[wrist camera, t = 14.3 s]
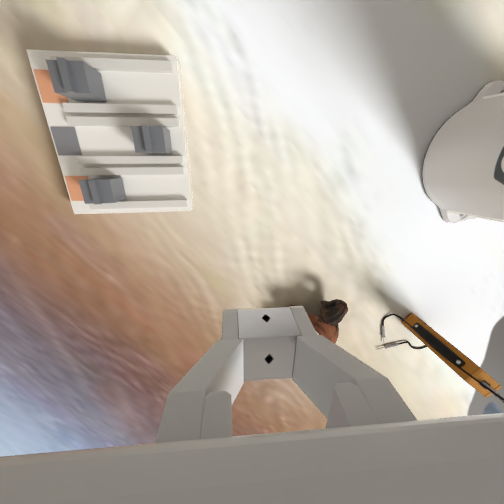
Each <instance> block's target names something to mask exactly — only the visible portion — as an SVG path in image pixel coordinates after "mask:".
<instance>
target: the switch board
mask: <svg viewBox="0 0 504 504" xmlns="http://www.w3.org/2000/svg"><path fill="white" fill-rule="evenodd" d="M26 51H27V55H28V58H29V61H30V65H31V68H32V72H33V75H34V78H35V82H36V85H37V89H38V92H39V95H40V99H41V102H42V106H43V109H44V112H45V116H46V119H47V123H48V126H49V129H50V133H51V136H52V140H53V143H54V146H55V150H56V153H57V157H58V160H59V164H60V167H61V170H62V174H63V177H64V181H65V184H66V187H67V191H68V194H69V198H70V201H71V204H72V208H73V211H74V214H99V213H135V212H171V211H192V210H193V208H194V202H193V192H192V181H191V171H190V161H189V151H188V140H187V130H186V120H185V110H184V99H183V89H182V79H181V69H180V63H179V61H178V59H177V57H176V56H172V55H148V54H125V53H101V52H78V51H55V50H31V49H26ZM56 57H60V58H65V59H67V60H70V61H84V62H85V63H86V64H88V65H89V66H91V67H92V68H94V69H95V70H96V71H98V72H99V73H101V76H102V81H103V86H104V91H105V96H106V101H107V102H104V101H75V100H72V99H70V98H67V97H65V96H62V95H60V94H57V93H55V92H54V88H53V85H52V81H51V77H50V74H49V70H48V66H47V63H46V60H57V59H56ZM142 125H149V126H163V127H165V128H167V129H169V130H170V137H171V146H172V153H135V147H134V142H133V136H132V130H131V126H142ZM119 177H122V179H123V184H124V189H125V194H126V199H123V200H121V201H118V202H116V203H102V204H85V202H84V199H83V195H82V191H81V188H80V184H79V180H83V179H90V178H119Z"/></svg>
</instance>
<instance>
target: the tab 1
mask: <svg viewBox="0 0 504 504" xmlns="http://www.w3.org/2000/svg"><path fill="white" fill-rule="evenodd" d="M56 59H57V60H46V63H47V66H48V70H49V74H50V77H51V81H52V85H53V88H54V92H55V93H57V94H60V95H62V96H65V97H67V98H70V99H72V100H75V101H104V102H107V101H106V96H105V91H104V86H103V81H102V76H101V73H99V72H98V71H96V70H95V69H94V68H92V67H91V66H89V65H88V64H86V63H85V62H84V61H70V60H67V59H65V58H60V57H56Z"/></svg>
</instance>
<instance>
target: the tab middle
mask: <svg viewBox="0 0 504 504" xmlns="http://www.w3.org/2000/svg"><path fill="white" fill-rule="evenodd" d="M131 130H132V136H133V142H134V147H135V153H172V146H171V137H170V130H169V129H167V128H165V127H163V126H149V125H142V126H131Z"/></svg>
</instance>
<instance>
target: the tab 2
mask: <svg viewBox="0 0 504 504" xmlns="http://www.w3.org/2000/svg"><path fill="white" fill-rule="evenodd" d="M79 184H80V188H81V191H82V195H83V199H84V202H85V204H102V203H116V202H118V201H121V200H123V199H126V194H125V189H124V184H123V179H122V177H119V178H90V179H83V180H79Z"/></svg>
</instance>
